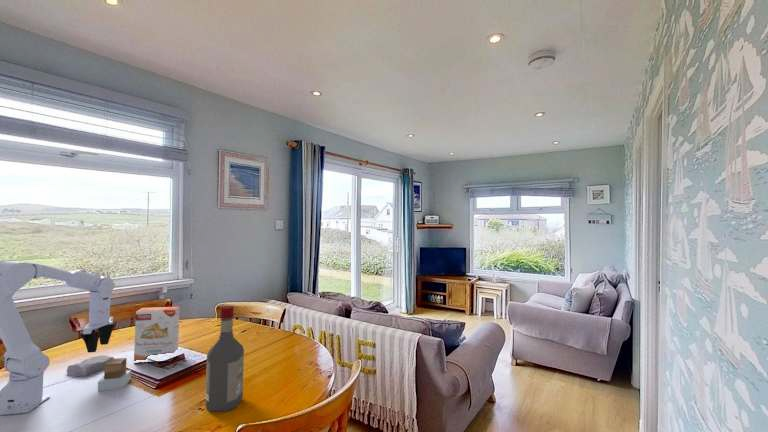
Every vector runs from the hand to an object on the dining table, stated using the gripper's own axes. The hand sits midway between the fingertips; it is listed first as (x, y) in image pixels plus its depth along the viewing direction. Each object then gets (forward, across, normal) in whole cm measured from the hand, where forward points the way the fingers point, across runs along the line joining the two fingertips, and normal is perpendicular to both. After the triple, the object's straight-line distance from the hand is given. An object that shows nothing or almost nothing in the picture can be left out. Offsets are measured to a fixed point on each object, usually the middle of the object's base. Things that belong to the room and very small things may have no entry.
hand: (98, 348), depth 122 cm
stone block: (+11, +8, +7) cm, 15 cm away
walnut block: (+7, -8, -9) cm, 14 cm away
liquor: (+11, -28, -48) cm, 57 cm away
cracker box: (+11, +13, -14) cm, 22 cm away
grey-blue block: (+11, -8, -9) cm, 16 cm away
